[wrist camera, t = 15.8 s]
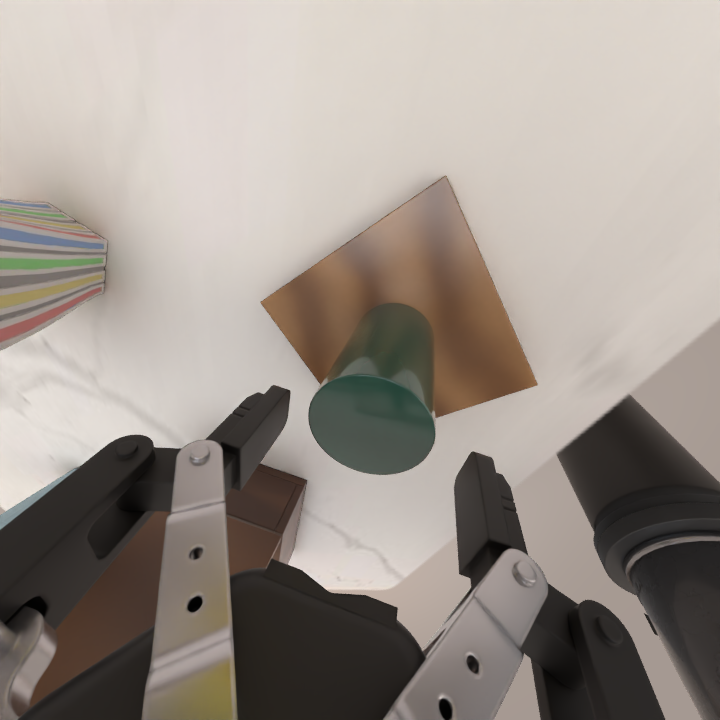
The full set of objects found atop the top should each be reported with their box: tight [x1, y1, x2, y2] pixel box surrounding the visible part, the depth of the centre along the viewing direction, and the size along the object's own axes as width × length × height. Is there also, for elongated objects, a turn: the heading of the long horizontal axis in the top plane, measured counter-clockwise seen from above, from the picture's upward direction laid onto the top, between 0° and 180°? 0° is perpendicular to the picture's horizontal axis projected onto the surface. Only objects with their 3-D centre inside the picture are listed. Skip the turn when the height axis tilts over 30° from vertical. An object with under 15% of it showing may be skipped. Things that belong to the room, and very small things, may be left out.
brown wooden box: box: [225, 464, 307, 565], centre depth 32 cm, size 15×13×6 cm
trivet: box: [261, 176, 537, 418], centre depth 20 cm, size 14×14×1 cm
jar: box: [308, 303, 435, 475], centre depth 16 cm, size 5×5×9 cm
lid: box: [29, 511, 281, 709], centre depth 19 cm, size 15×13×1 cm
